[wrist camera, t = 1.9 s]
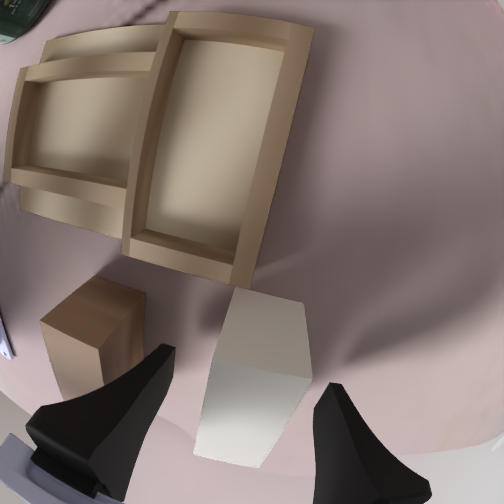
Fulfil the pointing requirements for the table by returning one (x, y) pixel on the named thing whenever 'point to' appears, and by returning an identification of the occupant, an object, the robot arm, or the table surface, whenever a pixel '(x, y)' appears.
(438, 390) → the table surface
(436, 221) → the table surface
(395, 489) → the robot arm
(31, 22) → the coffee jar
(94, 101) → the jig
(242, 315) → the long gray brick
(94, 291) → the tall wooden block
